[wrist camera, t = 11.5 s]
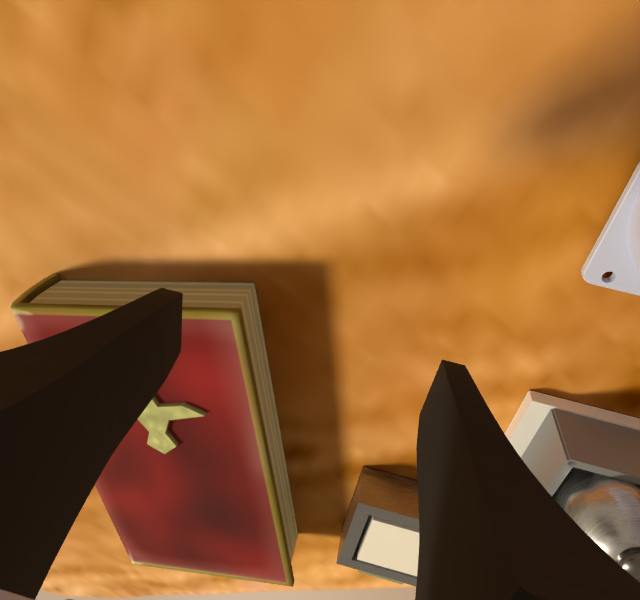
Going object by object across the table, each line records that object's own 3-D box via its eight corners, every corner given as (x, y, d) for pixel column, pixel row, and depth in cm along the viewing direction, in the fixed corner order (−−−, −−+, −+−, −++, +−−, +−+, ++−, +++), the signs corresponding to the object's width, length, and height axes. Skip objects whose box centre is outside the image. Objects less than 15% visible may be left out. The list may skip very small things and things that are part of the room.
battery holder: (669, 426, 24) (709, 494, 21) (570, 546, 30) (589, 615, 26) (529, 389, 24) (546, 451, 21) (458, 515, 30) (463, 579, 27)
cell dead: (629, 444, 24) (710, 547, 18) (604, 501, 25) (672, 617, 19) (555, 428, 24) (611, 525, 18) (534, 486, 25) (579, 595, 19)
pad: (444, 524, 28) (444, 540, 27) (423, 562, 31) (423, 578, 30) (374, 504, 29) (372, 519, 28) (358, 544, 31) (357, 559, 30)
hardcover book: (153, 513, 37) (125, 566, 34) (55, 269, 27) (-2, 310, 23) (305, 531, 35) (291, 590, 31) (263, 271, 24) (236, 316, 21)
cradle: (466, 494, 29) (470, 533, 27) (427, 565, 33) (427, 604, 31) (363, 466, 29) (358, 502, 27) (337, 539, 34) (331, 576, 32)
